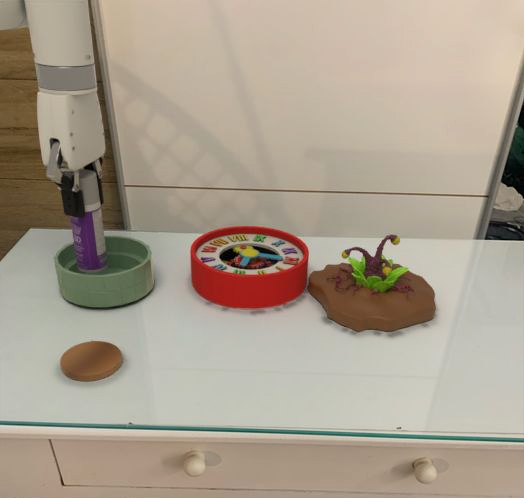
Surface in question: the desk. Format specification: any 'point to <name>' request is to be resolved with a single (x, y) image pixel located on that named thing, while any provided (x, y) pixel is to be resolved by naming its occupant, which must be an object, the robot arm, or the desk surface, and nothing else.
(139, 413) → the desk surface
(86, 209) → the container
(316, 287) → the plant
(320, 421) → the desk surface
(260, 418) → the desk surface
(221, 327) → the desk surface
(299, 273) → the toy clock
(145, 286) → the bowl
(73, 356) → the coaster
